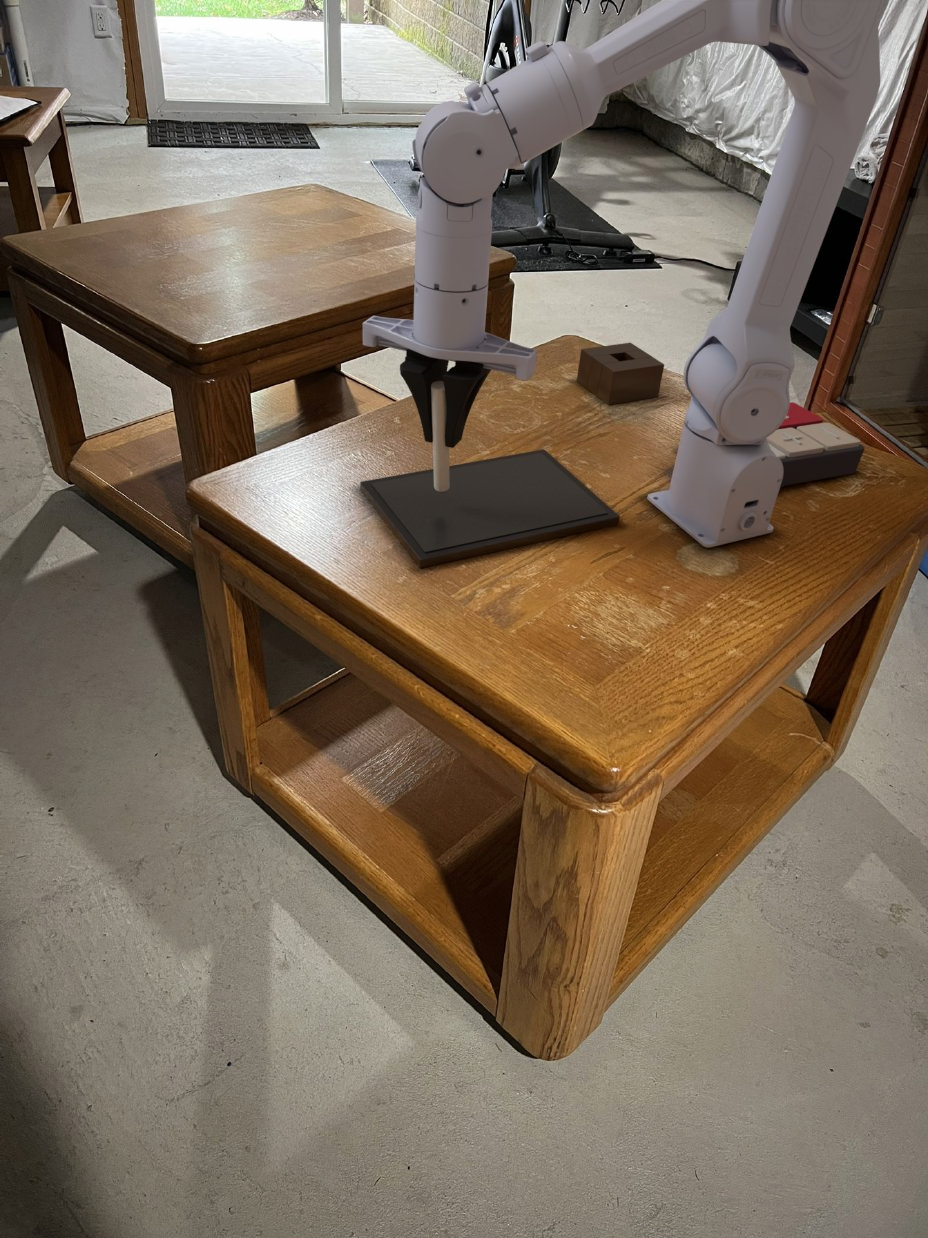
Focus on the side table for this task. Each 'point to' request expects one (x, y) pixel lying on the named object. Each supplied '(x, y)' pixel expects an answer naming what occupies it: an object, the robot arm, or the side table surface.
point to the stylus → (439, 438)
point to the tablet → (486, 507)
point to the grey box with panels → (813, 448)
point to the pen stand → (620, 373)
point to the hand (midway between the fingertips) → (443, 440)
